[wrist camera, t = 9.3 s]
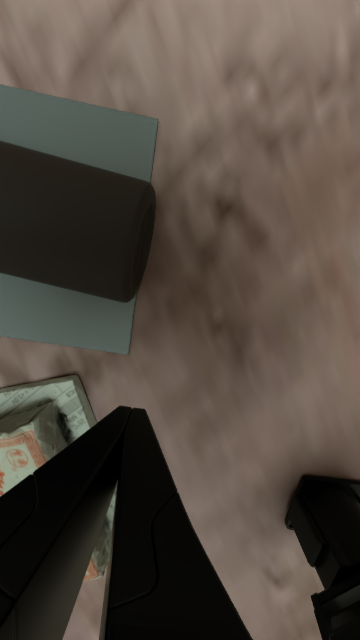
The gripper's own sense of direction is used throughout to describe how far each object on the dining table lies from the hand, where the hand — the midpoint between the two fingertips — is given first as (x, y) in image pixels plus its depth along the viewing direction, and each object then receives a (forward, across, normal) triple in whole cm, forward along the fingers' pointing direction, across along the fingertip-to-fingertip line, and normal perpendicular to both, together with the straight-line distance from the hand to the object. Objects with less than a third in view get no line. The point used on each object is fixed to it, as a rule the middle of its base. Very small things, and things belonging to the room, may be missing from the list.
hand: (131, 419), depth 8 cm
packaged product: (+12, +7, +15) cm, 21 cm away
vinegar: (+8, +1, -5) cm, 10 cm away
